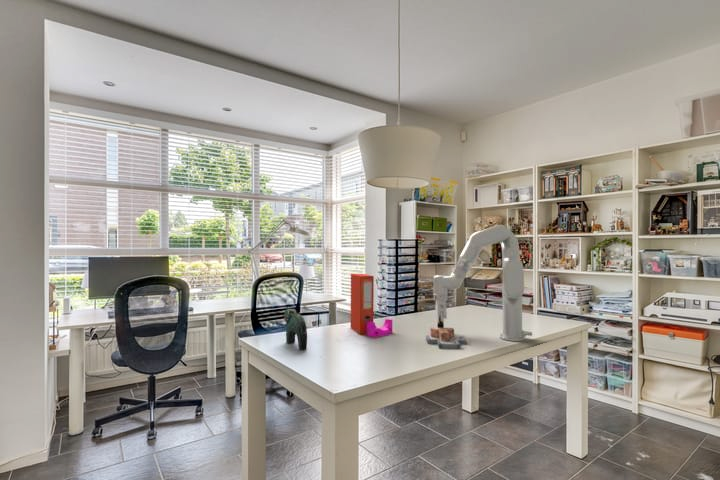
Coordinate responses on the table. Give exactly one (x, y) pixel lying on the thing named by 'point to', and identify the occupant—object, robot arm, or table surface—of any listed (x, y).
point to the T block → (442, 333)
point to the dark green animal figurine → (295, 328)
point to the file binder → (361, 302)
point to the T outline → (446, 345)
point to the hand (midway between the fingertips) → (440, 330)
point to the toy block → (381, 331)
